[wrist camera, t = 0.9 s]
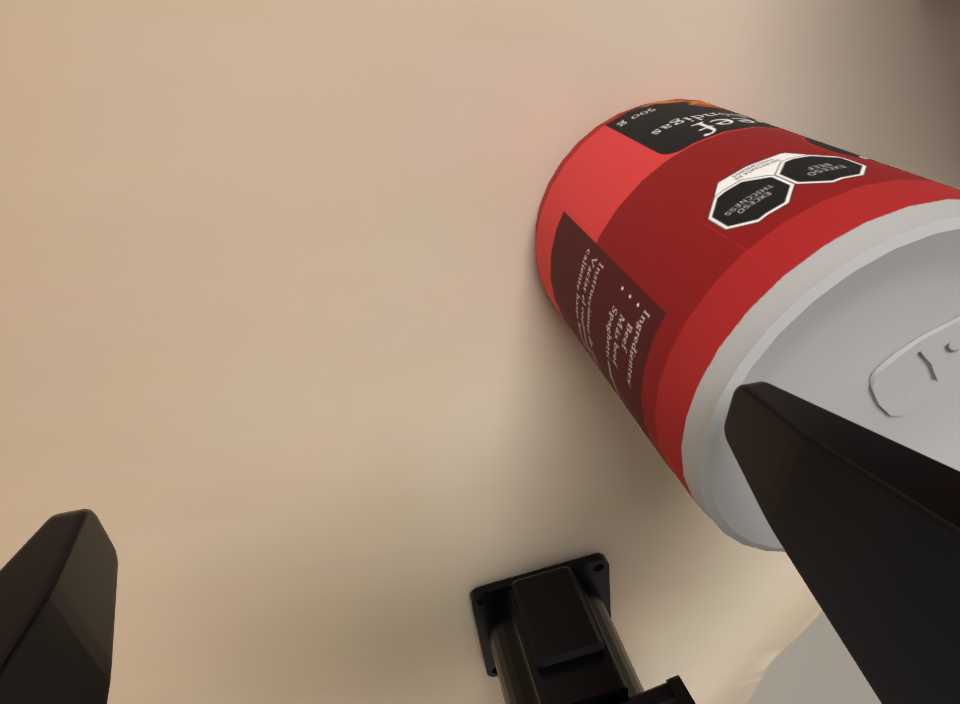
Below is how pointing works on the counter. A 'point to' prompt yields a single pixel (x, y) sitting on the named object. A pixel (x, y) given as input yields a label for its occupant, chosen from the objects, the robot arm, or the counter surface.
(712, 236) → the canned food
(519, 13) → the counter surface
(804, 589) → the counter surface
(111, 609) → the robot arm
